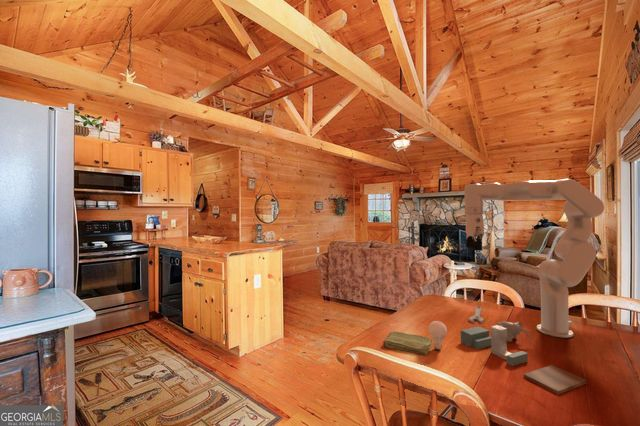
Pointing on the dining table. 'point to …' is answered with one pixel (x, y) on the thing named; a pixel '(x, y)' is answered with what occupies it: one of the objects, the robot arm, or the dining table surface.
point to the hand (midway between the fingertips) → (473, 249)
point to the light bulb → (437, 333)
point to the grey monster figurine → (512, 329)
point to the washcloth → (408, 342)
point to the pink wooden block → (499, 341)
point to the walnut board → (555, 379)
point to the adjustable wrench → (477, 316)
